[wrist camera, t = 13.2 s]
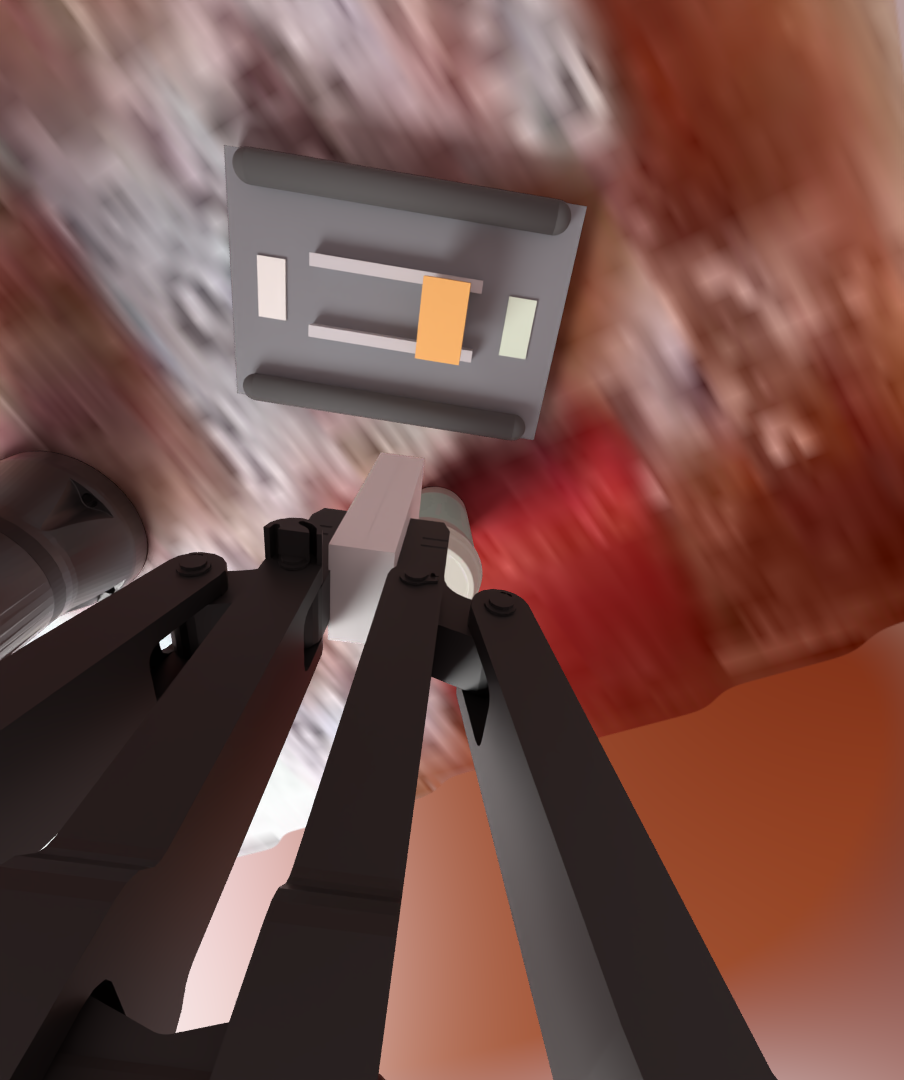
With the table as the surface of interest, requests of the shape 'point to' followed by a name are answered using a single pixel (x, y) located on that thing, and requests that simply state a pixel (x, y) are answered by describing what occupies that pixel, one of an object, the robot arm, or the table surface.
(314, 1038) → the robot arm
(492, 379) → the slide switch panel
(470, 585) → the coffee cup
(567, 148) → the table surface
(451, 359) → the lever
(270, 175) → the pair of grey bars
